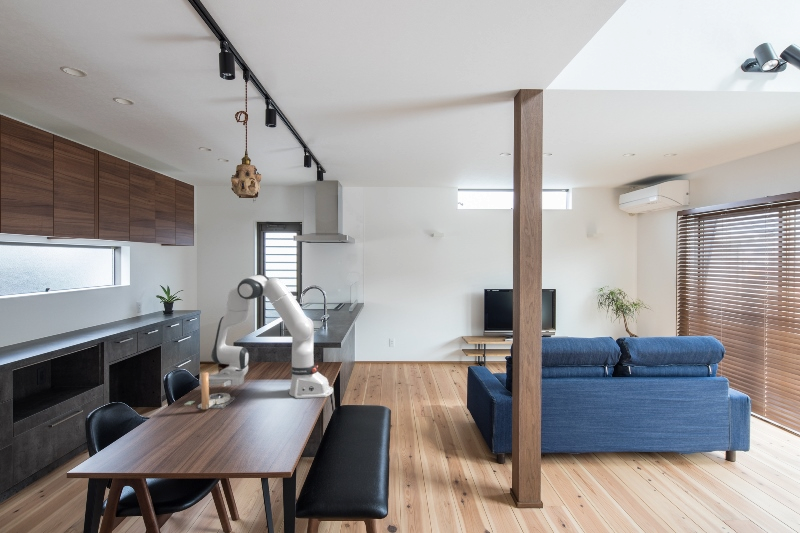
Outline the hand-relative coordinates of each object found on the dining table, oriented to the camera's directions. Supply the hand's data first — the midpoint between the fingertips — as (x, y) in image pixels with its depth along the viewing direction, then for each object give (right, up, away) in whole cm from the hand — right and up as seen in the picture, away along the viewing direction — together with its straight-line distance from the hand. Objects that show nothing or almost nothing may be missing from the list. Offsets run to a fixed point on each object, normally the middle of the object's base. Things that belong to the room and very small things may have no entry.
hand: (213, 384), depth 183 cm
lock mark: (-13, -10, +4) cm, 17 cm away
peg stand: (0, -9, 0) cm, 8 cm away
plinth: (0, -10, +3) cm, 10 cm away
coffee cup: (-13, -10, +41) cm, 44 cm away
